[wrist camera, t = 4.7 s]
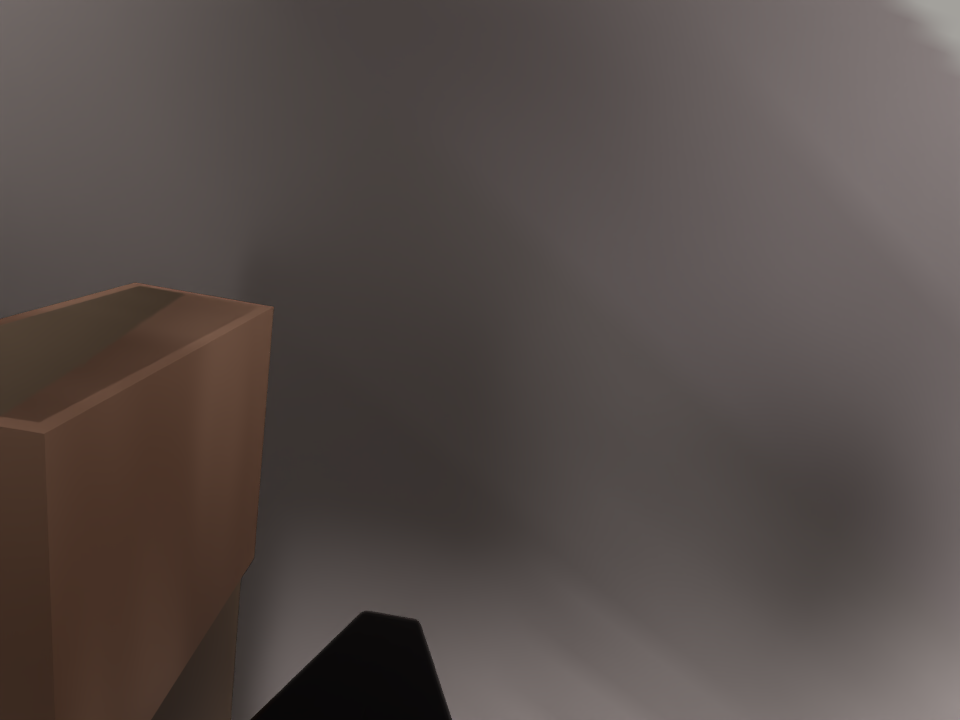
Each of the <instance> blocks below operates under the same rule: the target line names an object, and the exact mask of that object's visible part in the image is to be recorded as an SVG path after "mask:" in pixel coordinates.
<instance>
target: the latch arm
mask: <svg viewBox="0 0 960 720" xmlns="http://www.w3.org/2000/svg"><path fill="white" fill-rule="evenodd" d="M273 311H274V307H272V306H266V305H261V304H255V303H249V302H243V301H238V300H232V299H226V298H221V297H215V296H209V295H204V294H198V293H192V292H186V291H181V290H175V289H169V288H164V287H158V286H152V285H147V284H141V283H132V284H128V285H124V286H121V287H117V288H113V289H109V290H106V291H102V292H98V293H95V294H91V295H87V296H83V297H80V298H76V299H72V300H69V301H65V302H61V303H57V304H54V305H50V306H46V307H43V308H39V309H35V310H31V311H28V312H24V313H20V314H17V315H13V316H9V317H5V318H2V319H0V720H231V710H232V696H233V682H234V668H235V654H236V640H237V626H238V612H239V598H240V584H241V578H242V576H243V575H244V573H245V572H246V570H247V568H248V567H249V565H250V564H251V562H252V561H253V559H254V554H255V541H256V528H257V516H258V503H259V490H260V477H261V464H262V452H263V439H264V426H265V413H266V400H267V387H268V375H269V362H270V349H271V336H272V323H273Z"/></svg>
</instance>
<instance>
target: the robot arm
mask: <svg viewBox="0 0 960 720" xmlns="http://www.w3.org/2000/svg"><path fill="white" fill-rule="evenodd" d="M251 720H452V718H451V715H450V712H449V709H448V706H447V703H446V700H445V697H444V694H443V691H442V688H441V684H440V681H439V678H438V675H437V672H436V669H435V666H434V663H433V660H432V657H431V654H430V651H429V648H428V645H427V642H426V639H425V636H424V633H423V630H422V627H421V624H420V623H419V621H418V620H416V619H413V618H407V617H401V616H395V615H390V614H384V613H378V612H372V611H364V612H361V613H360V614H359V615H358V616H357V617H356V618H355V619H354V620H353V621H352V622H351V623H350V624H349V625H348V626H346V627H345V628H344V629H343V630H342V631H341V632H340V633H339V634H338V635H337V636H336V637H335V638H334V639H333V640H332V641H331V642H330V643H329V644H328V645H327V646H326V647H325V648H324V649H323V650H322V651H321V652H320V653H319V654H318V655H317V656H316V657H315V658H314V659H312V660H311V661H310V662H309V663H308V664H307V665H306V666H305V667H304V668H303V669H302V670H301V671H300V672H299V673H298V674H297V675H296V676H295V677H294V678H293V679H292V680H291V681H290V682H289V683H288V684H287V685H286V686H285V687H284V688H283V689H282V690H281V691H280V692H278V693H277V694H276V695H275V696H274V697H273V698H272V699H271V700H270V701H269V702H268V703H267V704H266V705H265V706H264V707H263V708H262V709H261V710H260V711H259V712H258V713H257V714H256V715H255V716H254V717H253V718H252V719H251Z"/></svg>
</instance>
